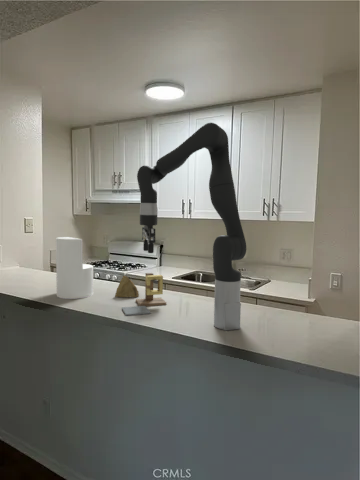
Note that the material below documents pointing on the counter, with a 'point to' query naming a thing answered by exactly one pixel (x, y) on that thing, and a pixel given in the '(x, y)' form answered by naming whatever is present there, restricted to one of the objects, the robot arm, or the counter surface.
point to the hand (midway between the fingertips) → (148, 251)
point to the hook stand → (150, 296)
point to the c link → (160, 285)
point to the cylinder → (72, 270)
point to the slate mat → (135, 310)
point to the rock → (126, 288)
